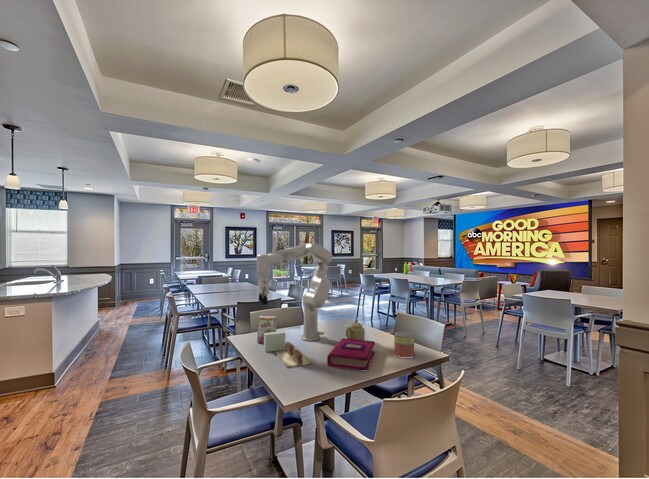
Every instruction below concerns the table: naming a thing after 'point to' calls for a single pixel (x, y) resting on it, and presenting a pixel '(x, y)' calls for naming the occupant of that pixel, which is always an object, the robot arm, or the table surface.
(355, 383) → the table surface
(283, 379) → the table surface
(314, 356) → the table surface
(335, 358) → the book
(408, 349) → the canned food
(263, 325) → the candy bar box
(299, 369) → the table surface
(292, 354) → the slot board
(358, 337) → the sugar bowl
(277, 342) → the sage plate
